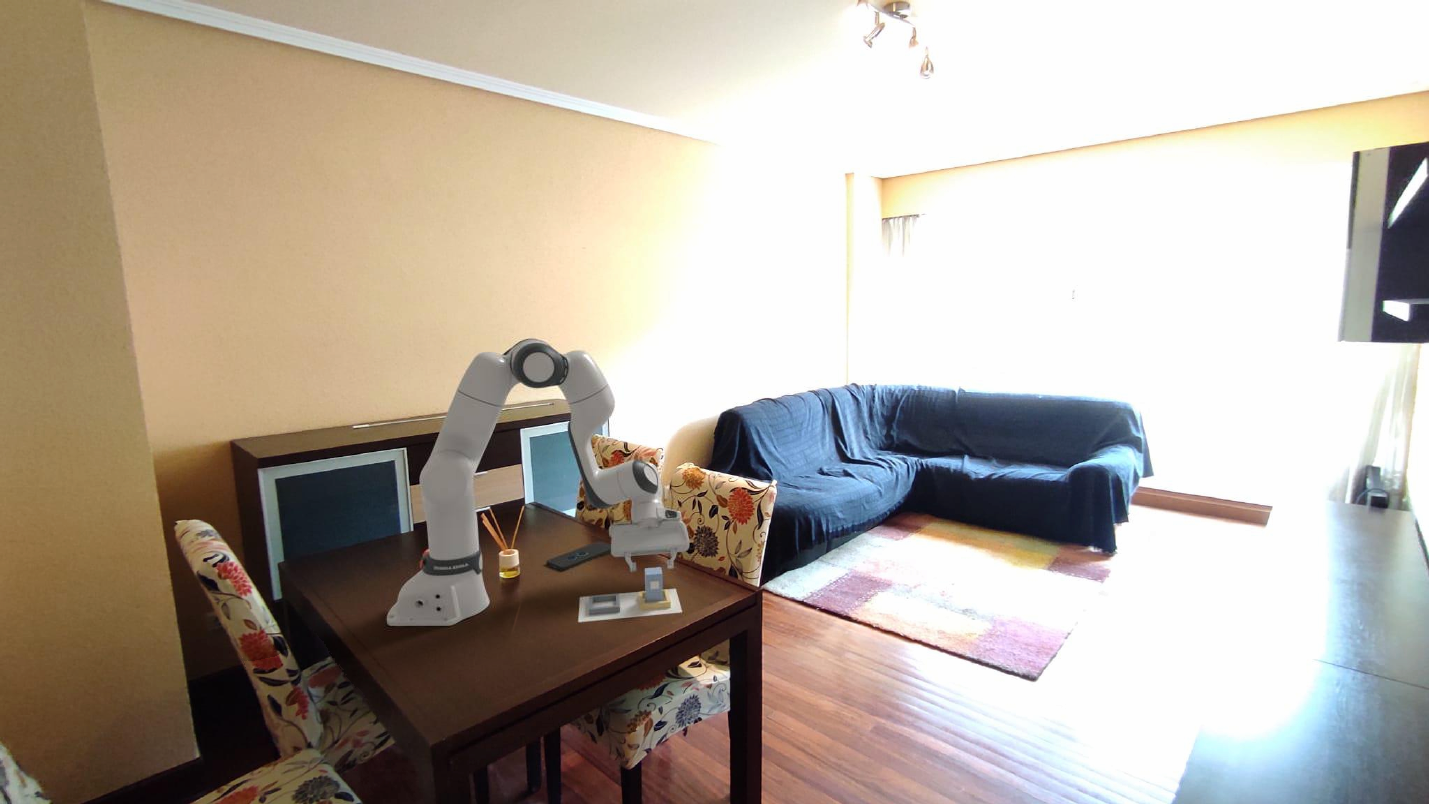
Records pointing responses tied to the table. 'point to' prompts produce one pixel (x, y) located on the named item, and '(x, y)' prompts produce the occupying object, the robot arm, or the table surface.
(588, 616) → the white board with frames
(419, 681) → the table surface
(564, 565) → the smart home device
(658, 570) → the plug
